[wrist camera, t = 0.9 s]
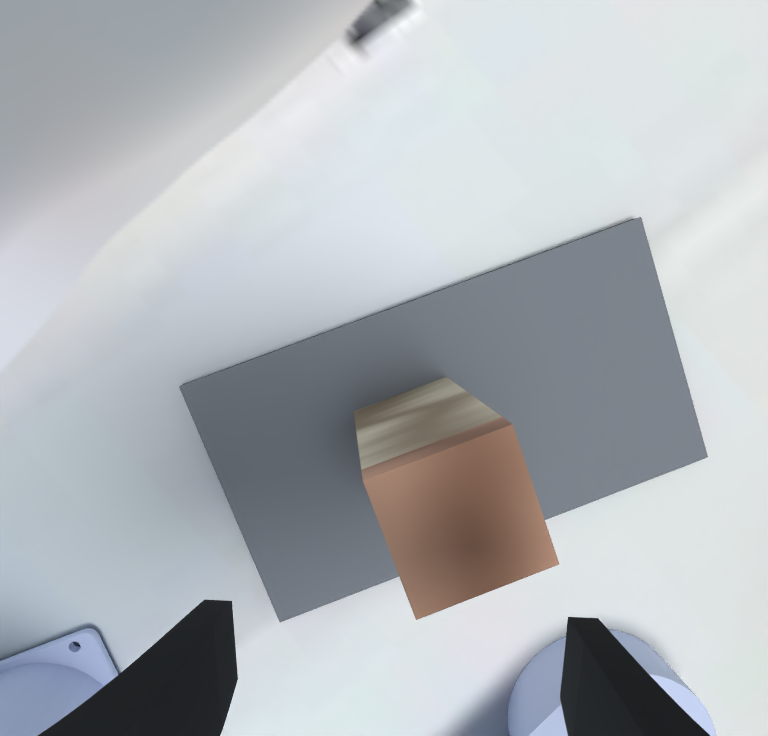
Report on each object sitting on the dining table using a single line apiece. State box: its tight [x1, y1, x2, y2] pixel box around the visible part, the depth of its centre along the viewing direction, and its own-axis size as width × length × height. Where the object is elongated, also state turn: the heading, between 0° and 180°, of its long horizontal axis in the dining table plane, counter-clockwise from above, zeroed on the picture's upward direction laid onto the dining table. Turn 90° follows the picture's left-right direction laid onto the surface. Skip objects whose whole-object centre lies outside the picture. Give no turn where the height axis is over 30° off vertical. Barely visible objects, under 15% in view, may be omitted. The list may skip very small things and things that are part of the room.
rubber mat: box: [180, 217, 708, 622], centre depth 25 cm, size 22×12×1 cm, turn 110°
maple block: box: [354, 377, 559, 620], centre depth 20 cm, size 4×4×10 cm
